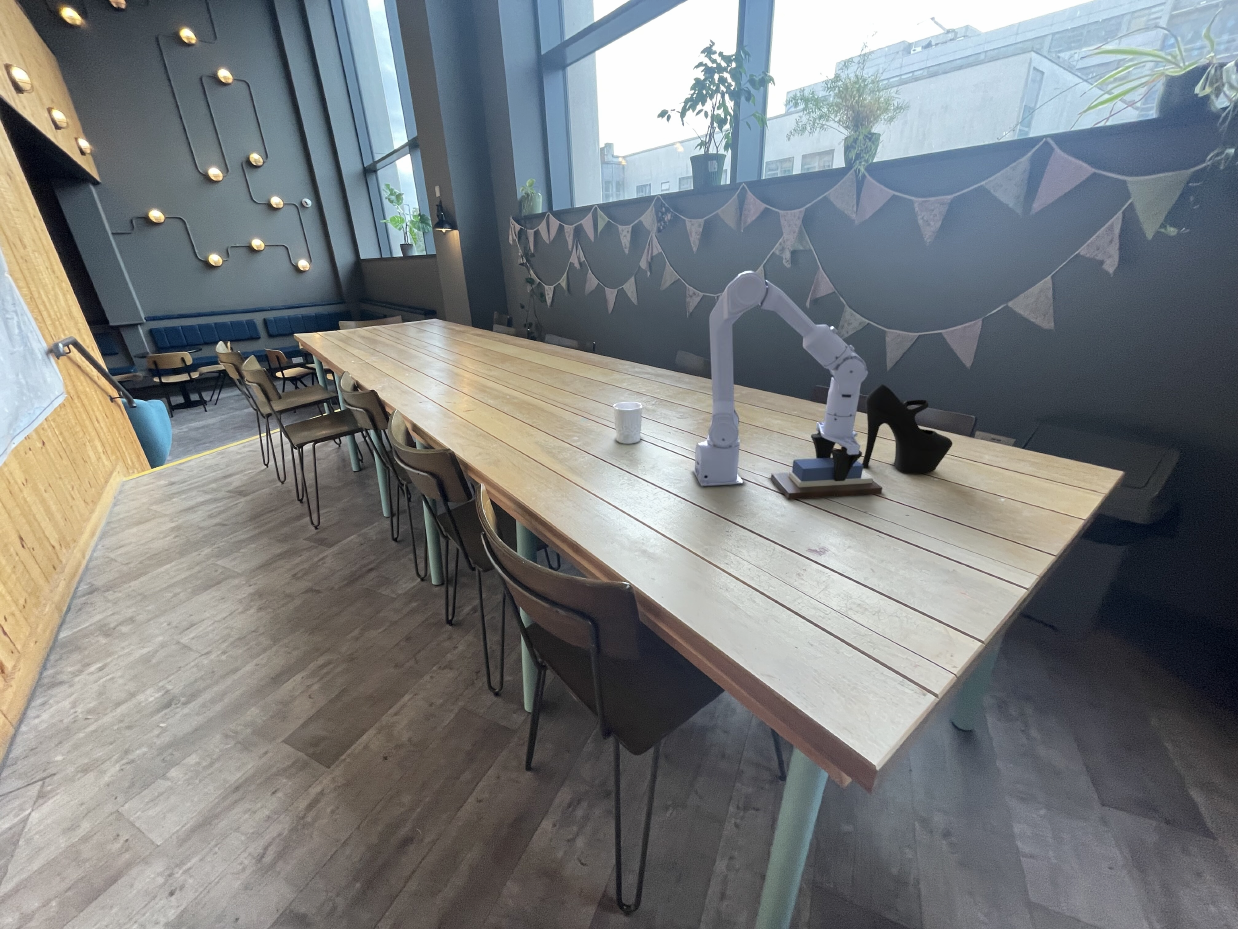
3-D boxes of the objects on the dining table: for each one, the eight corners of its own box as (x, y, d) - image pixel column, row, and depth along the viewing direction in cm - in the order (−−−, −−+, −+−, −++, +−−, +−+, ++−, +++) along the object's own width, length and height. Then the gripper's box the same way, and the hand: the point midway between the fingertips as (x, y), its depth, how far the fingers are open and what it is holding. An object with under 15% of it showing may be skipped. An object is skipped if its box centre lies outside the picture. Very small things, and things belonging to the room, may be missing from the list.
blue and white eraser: (798, 487, 99) (801, 469, 97) (788, 476, 104) (790, 459, 102) (872, 483, 100) (875, 465, 98) (858, 472, 105) (861, 455, 103)
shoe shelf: (788, 499, 98) (789, 493, 97) (770, 479, 107) (771, 473, 106) (881, 494, 98) (882, 487, 98) (856, 474, 108) (857, 468, 107)
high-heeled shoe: (949, 477, 105) (974, 389, 97) (857, 472, 108) (874, 388, 100) (935, 463, 112) (957, 380, 104) (849, 459, 115) (864, 379, 107)
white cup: (642, 444, 129) (642, 409, 125) (614, 445, 129) (612, 410, 125) (642, 434, 136) (641, 401, 132) (615, 435, 136) (613, 401, 132)
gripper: (879, 422, 89) (866, 486, 95) (841, 401, 103) (832, 458, 108) (843, 424, 89) (832, 488, 95) (810, 403, 102) (802, 460, 108)
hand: (830, 472), depth 101 cm, fingers open, 7 cm apart
